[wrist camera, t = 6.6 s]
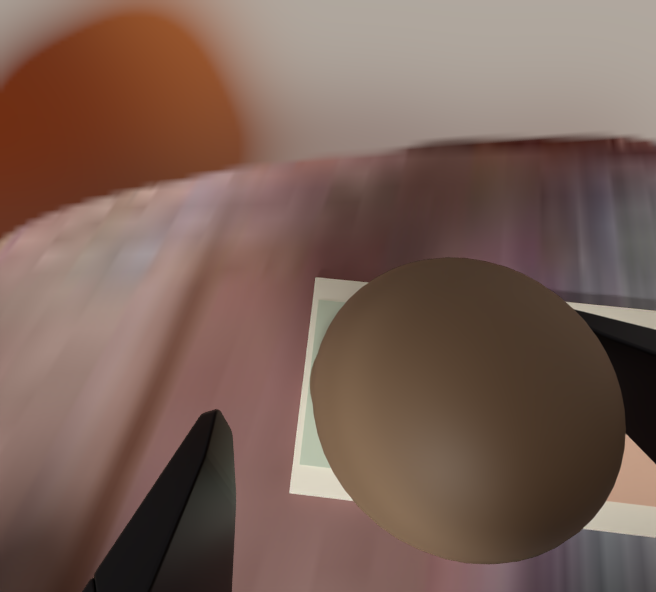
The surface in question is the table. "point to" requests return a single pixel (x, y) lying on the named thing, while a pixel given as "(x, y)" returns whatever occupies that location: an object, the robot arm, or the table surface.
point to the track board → (319, 480)
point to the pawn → (468, 410)
